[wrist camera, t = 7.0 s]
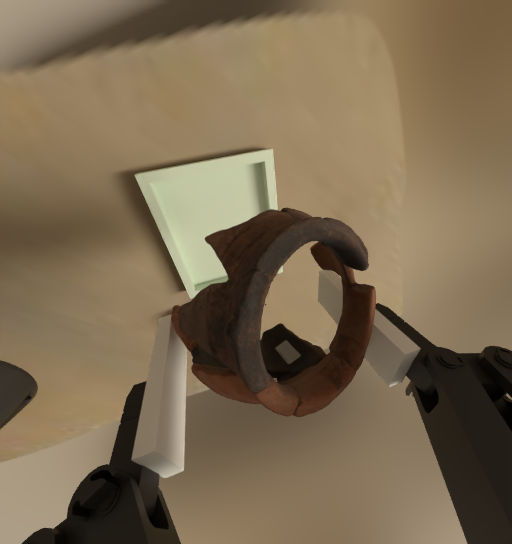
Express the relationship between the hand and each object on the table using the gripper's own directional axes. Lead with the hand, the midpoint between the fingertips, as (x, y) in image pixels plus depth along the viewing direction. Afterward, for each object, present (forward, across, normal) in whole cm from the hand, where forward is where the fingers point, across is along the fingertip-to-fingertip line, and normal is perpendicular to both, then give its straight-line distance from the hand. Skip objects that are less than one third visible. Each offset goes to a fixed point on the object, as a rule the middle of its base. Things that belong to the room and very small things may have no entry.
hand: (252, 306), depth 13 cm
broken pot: (+1, -1, -1) cm, 2 cm away
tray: (+15, 0, 0) cm, 15 cm away
